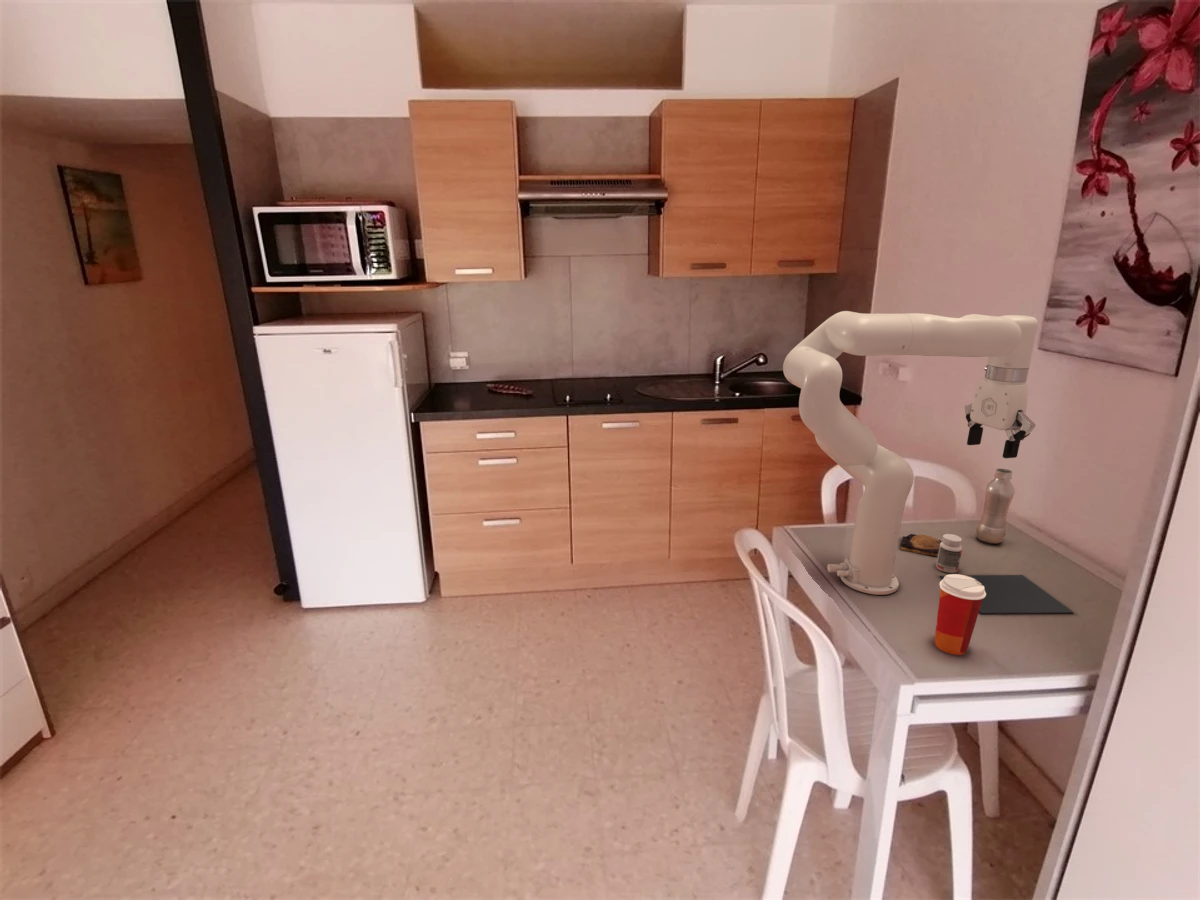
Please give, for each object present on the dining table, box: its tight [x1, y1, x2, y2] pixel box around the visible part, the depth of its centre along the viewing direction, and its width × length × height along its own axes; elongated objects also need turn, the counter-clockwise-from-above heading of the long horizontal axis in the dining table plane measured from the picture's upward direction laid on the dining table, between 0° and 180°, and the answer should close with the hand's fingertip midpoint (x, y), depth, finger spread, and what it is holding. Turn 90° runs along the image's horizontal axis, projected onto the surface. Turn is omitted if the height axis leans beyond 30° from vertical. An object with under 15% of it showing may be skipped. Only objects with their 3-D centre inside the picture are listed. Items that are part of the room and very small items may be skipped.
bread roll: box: [900, 533, 943, 557], centre depth 159 cm, size 11×8×4 cm
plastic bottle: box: [975, 468, 1016, 544], centre depth 161 cm, size 6×7×20 cm
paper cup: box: [934, 573, 986, 656], centre depth 117 cm, size 8×8×14 cm
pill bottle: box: [935, 533, 963, 574], centre depth 148 cm, size 5×5×8 cm
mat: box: [939, 574, 1074, 615], centre depth 138 cm, size 20×16×1 cm
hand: (990, 450), depth 136 cm, fingers open, 9 cm apart
